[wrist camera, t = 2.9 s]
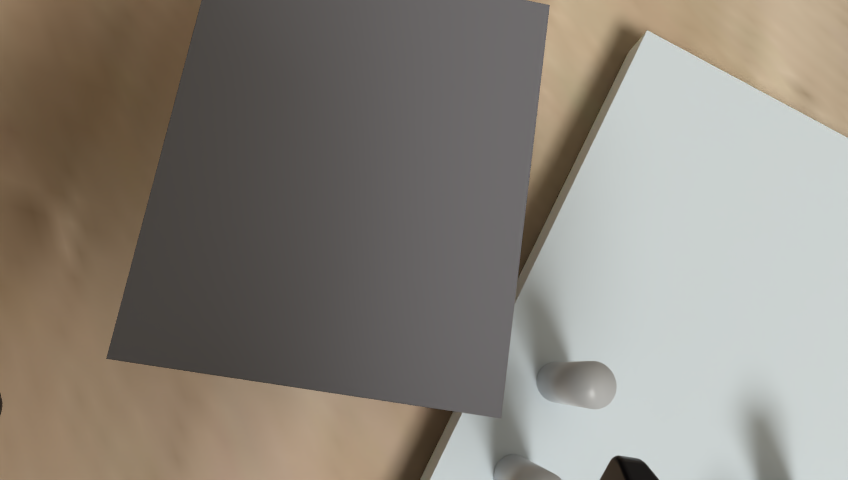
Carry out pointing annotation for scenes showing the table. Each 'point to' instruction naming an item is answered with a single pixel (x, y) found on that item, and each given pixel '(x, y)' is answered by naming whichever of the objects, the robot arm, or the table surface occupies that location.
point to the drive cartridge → (343, 199)
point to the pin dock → (679, 295)
